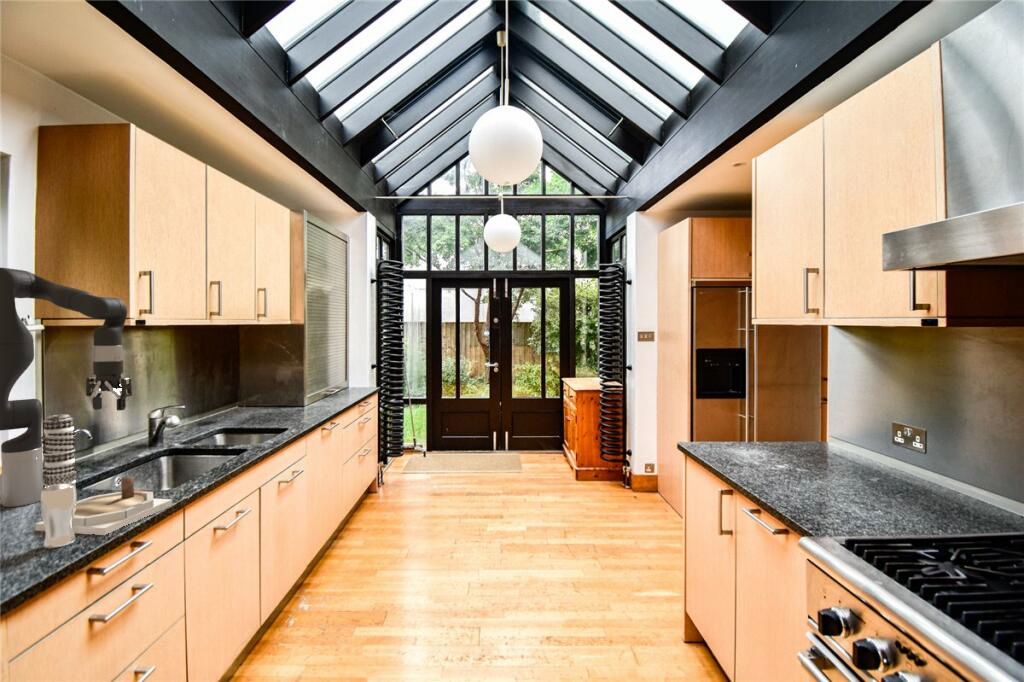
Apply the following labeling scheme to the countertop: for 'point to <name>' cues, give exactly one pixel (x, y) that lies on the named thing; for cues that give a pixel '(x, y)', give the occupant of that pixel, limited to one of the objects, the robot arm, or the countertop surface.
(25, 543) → the countertop surface
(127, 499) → the dial
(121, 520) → the dial housing
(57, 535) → the beer glass
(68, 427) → the decorative candle
